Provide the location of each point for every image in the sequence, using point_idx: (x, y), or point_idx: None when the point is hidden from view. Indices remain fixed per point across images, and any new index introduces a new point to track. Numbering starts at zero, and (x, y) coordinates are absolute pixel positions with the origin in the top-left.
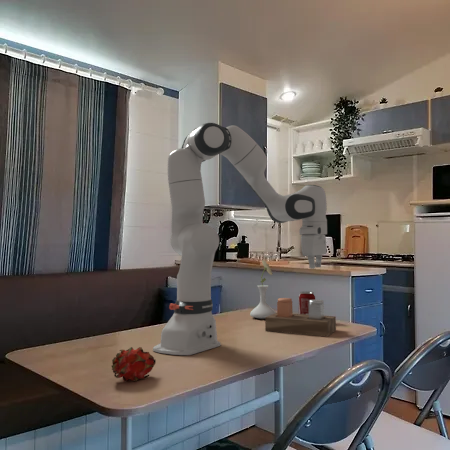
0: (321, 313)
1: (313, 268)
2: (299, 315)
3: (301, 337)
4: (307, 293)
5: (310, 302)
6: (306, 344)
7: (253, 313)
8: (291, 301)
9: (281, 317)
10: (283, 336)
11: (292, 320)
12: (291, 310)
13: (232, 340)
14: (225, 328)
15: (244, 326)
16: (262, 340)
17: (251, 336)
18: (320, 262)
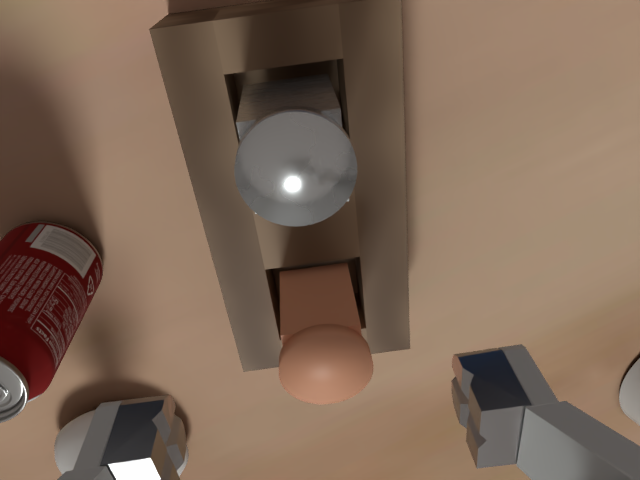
0: (311, 89)
1: (518, 347)
2: (262, 246)
3: (462, 109)
4: (10, 364)
5: (347, 192)
6: (618, 13)
7: (181, 470)
8: (318, 326)
9: (377, 291)
10: (473, 192)
11: (405, 219)
12: (297, 295)
13: (615, 312)
14: (416, 427)
15: (345, 402)
16: (585, 227)
17: (522, 296)
18: (108, 465)
